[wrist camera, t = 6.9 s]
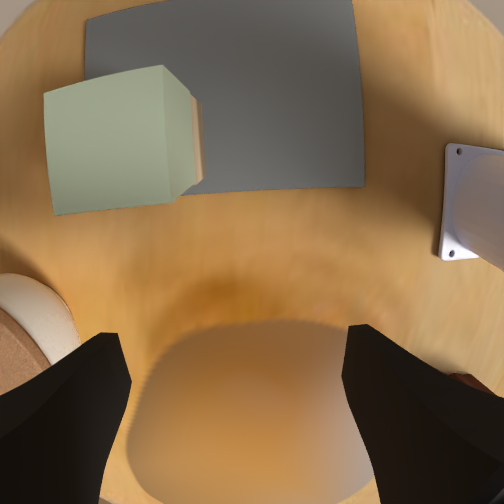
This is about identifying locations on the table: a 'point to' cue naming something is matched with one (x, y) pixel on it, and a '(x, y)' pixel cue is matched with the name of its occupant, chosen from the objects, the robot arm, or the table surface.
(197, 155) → the beech cube
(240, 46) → the slate mat
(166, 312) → the table surface
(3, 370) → the lidded jar
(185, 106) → the green block
